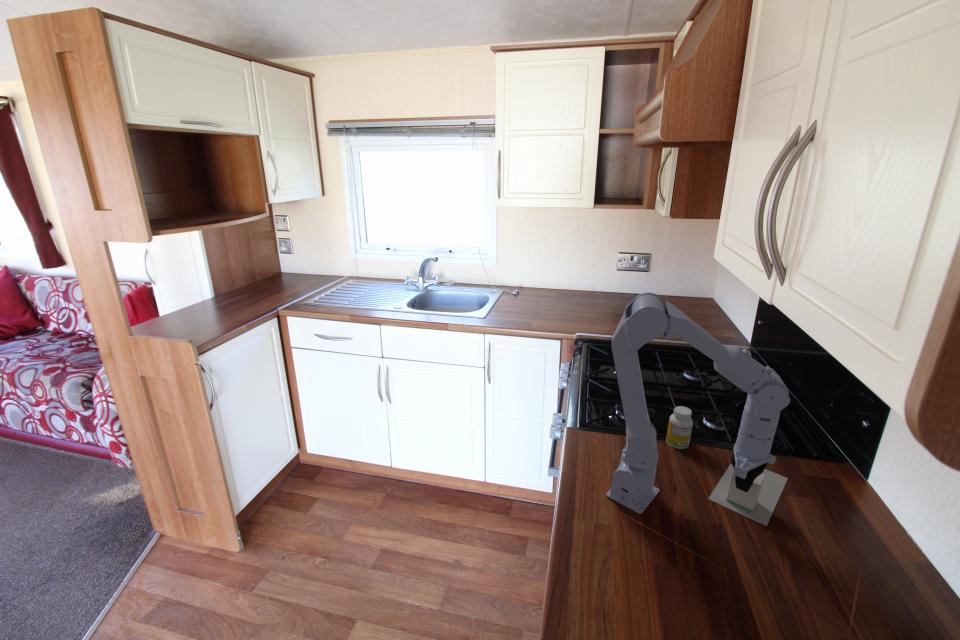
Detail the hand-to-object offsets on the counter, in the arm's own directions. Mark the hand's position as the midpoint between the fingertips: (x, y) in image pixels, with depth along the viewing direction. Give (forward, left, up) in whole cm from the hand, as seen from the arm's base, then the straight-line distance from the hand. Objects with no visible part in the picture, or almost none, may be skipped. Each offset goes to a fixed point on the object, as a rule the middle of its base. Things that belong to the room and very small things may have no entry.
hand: (742, 488), depth 91 cm
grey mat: (+9, 0, -6) cm, 11 cm away
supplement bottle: (+15, +18, -6) cm, 24 cm away
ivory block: (+4, 0, -6) cm, 7 cm away
